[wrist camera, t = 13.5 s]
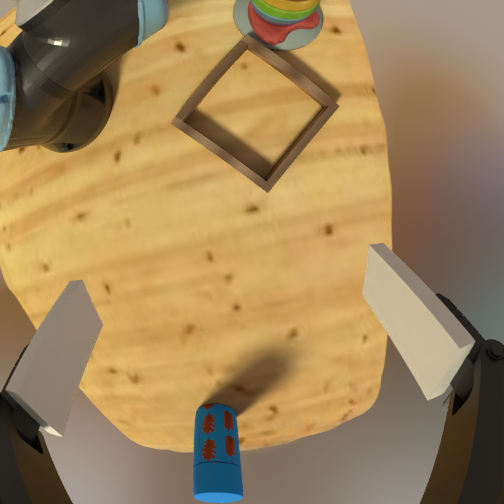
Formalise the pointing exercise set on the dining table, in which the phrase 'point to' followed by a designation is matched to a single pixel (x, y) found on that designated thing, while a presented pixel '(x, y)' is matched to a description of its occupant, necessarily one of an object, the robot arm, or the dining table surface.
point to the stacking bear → (281, 18)
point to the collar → (287, 71)
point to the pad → (291, 42)
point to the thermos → (216, 455)
